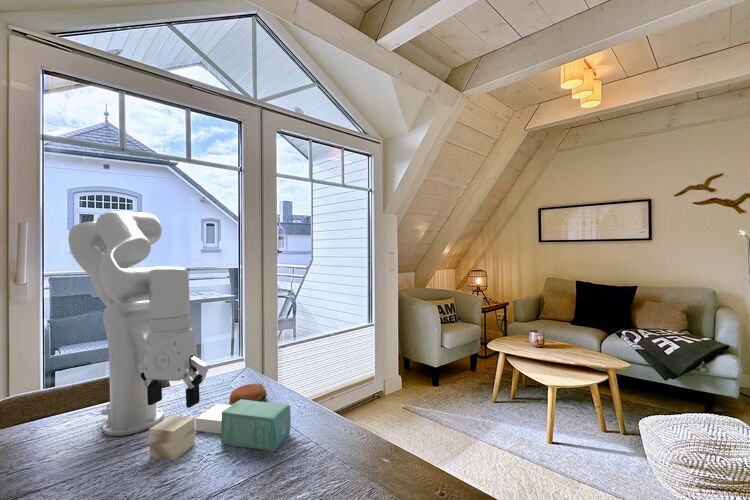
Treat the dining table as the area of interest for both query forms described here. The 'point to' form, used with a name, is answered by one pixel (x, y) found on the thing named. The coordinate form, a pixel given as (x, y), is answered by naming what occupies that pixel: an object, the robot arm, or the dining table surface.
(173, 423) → the maple block
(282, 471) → the dining table surface
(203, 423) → the white slab
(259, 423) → the box
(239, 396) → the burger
